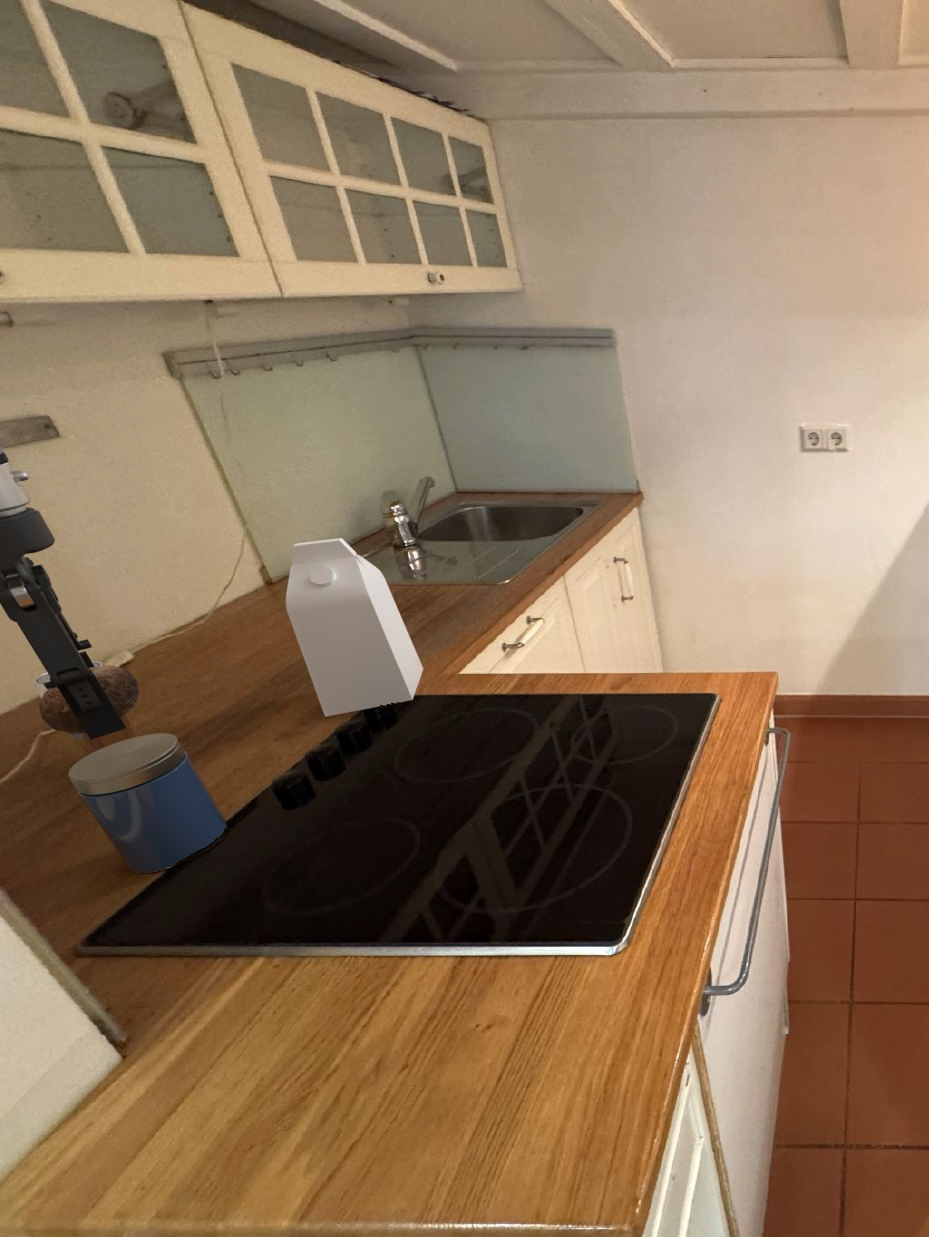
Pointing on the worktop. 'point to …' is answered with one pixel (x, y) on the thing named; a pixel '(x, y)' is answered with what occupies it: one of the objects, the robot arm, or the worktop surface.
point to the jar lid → (126, 764)
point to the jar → (159, 818)
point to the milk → (349, 629)
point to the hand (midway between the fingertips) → (103, 719)
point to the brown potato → (115, 685)
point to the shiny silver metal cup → (83, 738)
